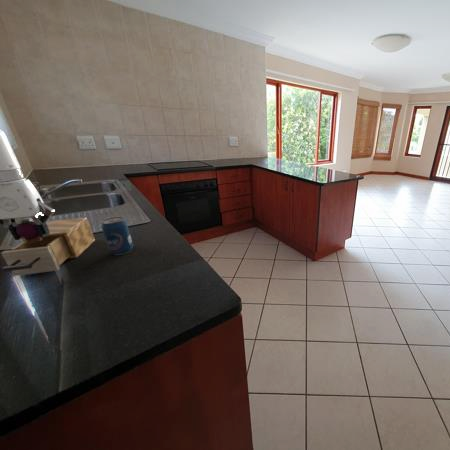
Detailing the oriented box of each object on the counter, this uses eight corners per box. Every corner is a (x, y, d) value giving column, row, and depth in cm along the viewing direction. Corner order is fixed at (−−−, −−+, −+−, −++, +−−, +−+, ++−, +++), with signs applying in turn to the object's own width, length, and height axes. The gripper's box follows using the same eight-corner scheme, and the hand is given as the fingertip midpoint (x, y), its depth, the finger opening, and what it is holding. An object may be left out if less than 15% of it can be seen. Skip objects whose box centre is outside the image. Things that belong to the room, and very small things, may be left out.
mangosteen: (18, 246, 68) (6, 224, 66) (30, 238, 73) (20, 218, 70) (40, 243, 70) (30, 222, 67) (51, 236, 74) (42, 216, 72)
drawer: (47, 280, 67) (35, 256, 64) (-1, 287, 65) (-16, 262, 61) (79, 250, 83) (70, 230, 80) (41, 255, 80) (31, 234, 77)
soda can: (106, 256, 81) (95, 224, 76) (116, 247, 87) (106, 217, 83) (129, 255, 82) (119, 223, 78) (137, 245, 89) (128, 215, 84)
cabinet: (77, 257, 80) (66, 232, 77) (33, 262, 77) (20, 236, 73) (95, 240, 92) (86, 217, 89) (58, 244, 89) (48, 220, 85)
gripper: (-54, 181, 58) (-16, 246, 65) (34, 177, 63) (61, 238, 70) (-27, 175, 65) (6, 235, 72) (51, 172, 69) (74, 228, 77)
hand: (33, 236), depth 71 cm, fingers closed on mangosteen, 5 cm apart
